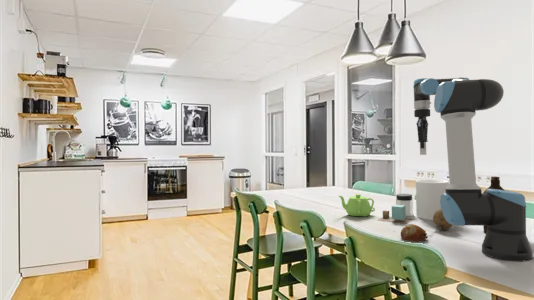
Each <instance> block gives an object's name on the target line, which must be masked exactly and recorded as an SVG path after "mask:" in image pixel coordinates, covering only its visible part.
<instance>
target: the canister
mask: <svg viewBox="0 0 534 300" xmlns="http://www.w3.org/2000/svg"><path fill="white" fill-rule="evenodd" d="M449 184H450V182H449V180H444V179H416V180H415V205H416V206H415V207H416V208H415V211H416V212H415V214H416V217H417V218H419V219H423V220H430V221H433V216H434V213H435V212H436V211H437V210H439V209H441V204H440V199H441V198H440V197H441V195H442V194H444V193H446V191H445V188H446V187H447V186H448V185H449Z"/></svg>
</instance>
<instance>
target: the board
mask: <svg viewBox="0 0 534 300" xmlns="http://www.w3.org/2000/svg"><path fill="white" fill-rule="evenodd" d="M413 220H414V218H405V219H404V220H402V221H395V219H392V216H389V218H383V216H382V217H381V218H379V219H377V221H380V222H387V223H395V224H397V223H398V224H404V225H408V224H409V223H410V222H412V221H413Z"/></svg>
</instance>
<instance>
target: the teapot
mask: <svg viewBox="0 0 534 300" xmlns="http://www.w3.org/2000/svg"><path fill="white" fill-rule="evenodd" d="M338 197H339V198H340V200H341V206H342V208H343V209H344V210H345V212H346V213H347V215H348V216H351V217H368V216H370V214H372V213H373V212H375V210H376V209H375V207H374V204H375V201H374V199H373V198H371V197H368V198H367V197H366V196H362V195H361V194H360V193H359V194H358V193H357V194H355V196H350V197H349V198H348V200H347V203H346V202H345V199H344V197H343V196H342V195H338ZM370 201H372V202H371V203H370Z"/></svg>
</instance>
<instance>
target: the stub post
mask: <svg viewBox="0 0 534 300" xmlns="http://www.w3.org/2000/svg"><path fill="white" fill-rule="evenodd" d="M382 217H383V218H389V217H390V210H386V209H385V210H382Z"/></svg>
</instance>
